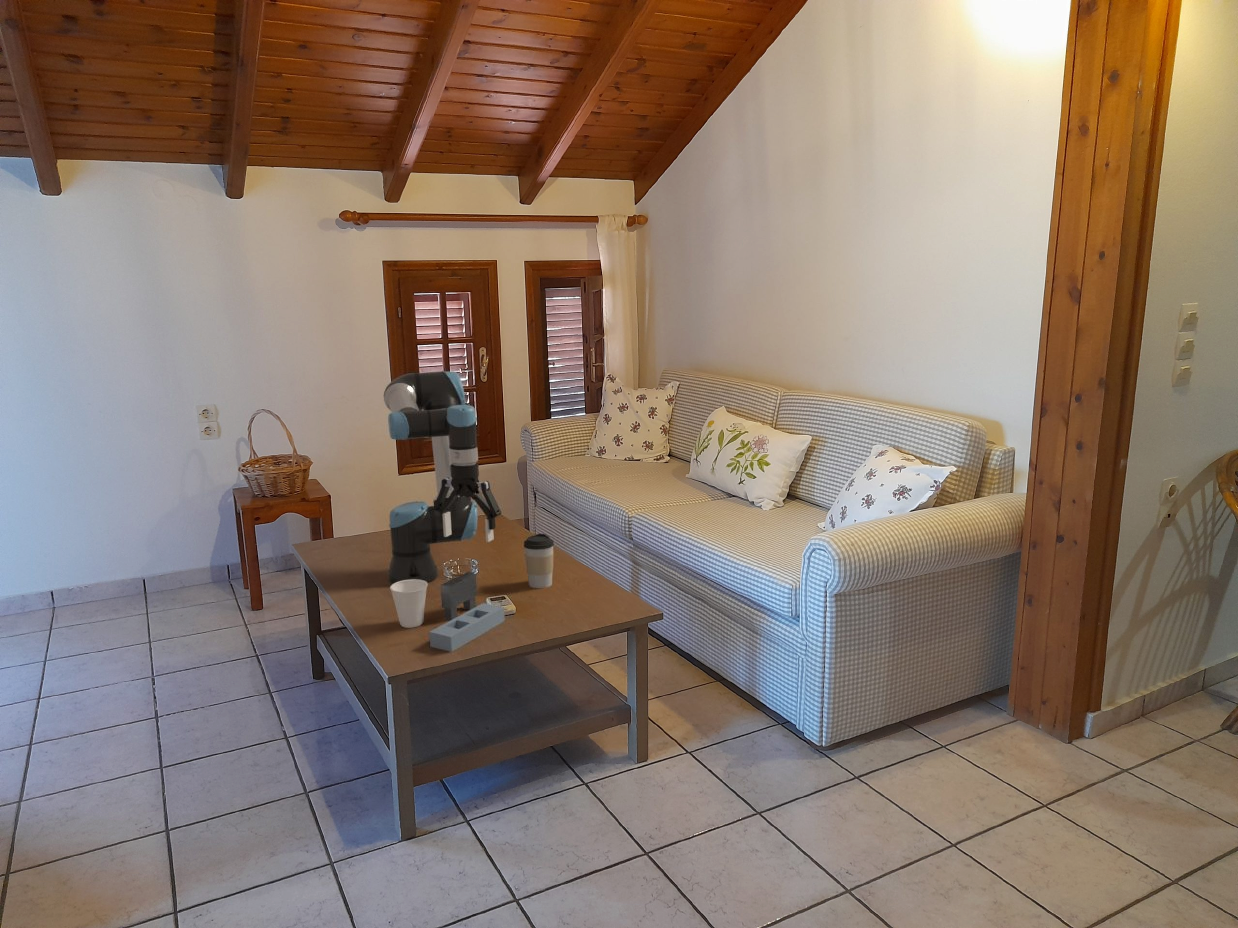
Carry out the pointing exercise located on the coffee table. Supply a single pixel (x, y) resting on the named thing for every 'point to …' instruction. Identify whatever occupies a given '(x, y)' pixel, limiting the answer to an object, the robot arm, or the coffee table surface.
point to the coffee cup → (539, 560)
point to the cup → (410, 601)
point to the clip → (458, 594)
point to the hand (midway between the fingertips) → (468, 538)
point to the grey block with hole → (466, 627)
